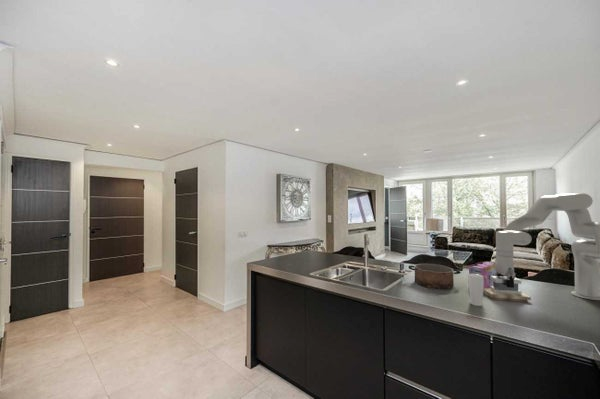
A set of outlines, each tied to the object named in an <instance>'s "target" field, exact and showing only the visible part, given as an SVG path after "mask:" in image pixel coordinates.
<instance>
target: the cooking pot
mask: <svg viewBox="0 0 600 399" xmlns="http://www.w3.org/2000/svg"><path fill="white" fill-rule="evenodd" d="M408 269H409V270H411V271H414V283H415V284H416V285H418V286H420V287H423V288H426V289H432V290H441V291H443V290H450V289H453V288H454V282H455V280H454V275H459V274H461V271H460V269H457V268H454V269H453V268H452V267H449V266H446V265H442V264H435V263H417V264H415V265H412V264H411V265H408Z"/></svg>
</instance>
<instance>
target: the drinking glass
mask: <svg viewBox="0 0 600 399" xmlns="http://www.w3.org/2000/svg"><path fill="white" fill-rule="evenodd" d="M467 284H468V292H469V303H470V304H471V305H472V306H475V307H482V306H483V300H484V299H483V298H484V292H483V289H484V276H482V275H479V274H469V273H468V274H467Z"/></svg>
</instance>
